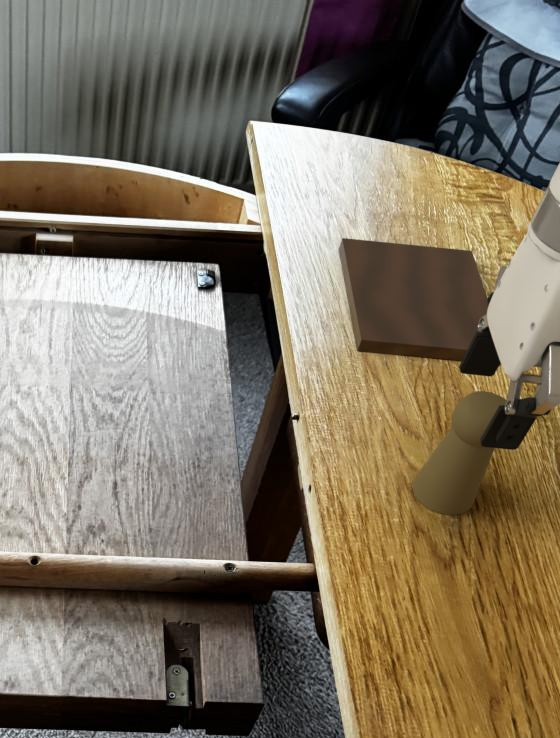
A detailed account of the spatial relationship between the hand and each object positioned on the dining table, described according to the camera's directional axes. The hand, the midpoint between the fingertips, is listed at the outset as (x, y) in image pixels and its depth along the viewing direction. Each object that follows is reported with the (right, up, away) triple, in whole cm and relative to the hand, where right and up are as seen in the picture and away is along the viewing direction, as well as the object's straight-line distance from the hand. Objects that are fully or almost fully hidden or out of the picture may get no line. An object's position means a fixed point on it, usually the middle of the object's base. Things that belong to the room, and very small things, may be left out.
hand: (486, 408), depth 81 cm
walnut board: (+3, +19, +27) cm, 33 cm away
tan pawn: (0, -6, +9) cm, 11 cm away
